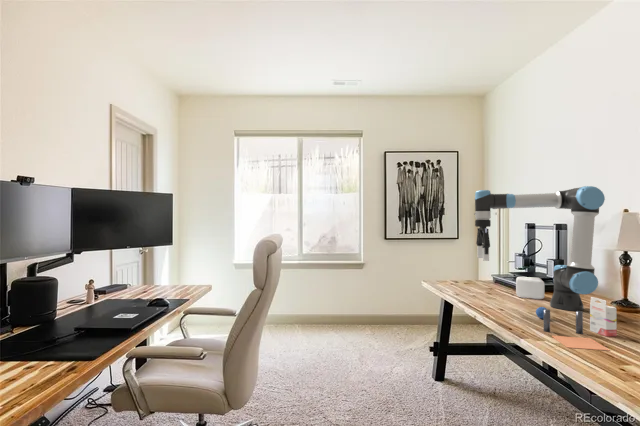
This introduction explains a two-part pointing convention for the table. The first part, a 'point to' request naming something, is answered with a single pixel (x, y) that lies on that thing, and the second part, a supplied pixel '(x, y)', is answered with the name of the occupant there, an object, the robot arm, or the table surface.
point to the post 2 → (579, 322)
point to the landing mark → (580, 343)
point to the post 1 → (546, 320)
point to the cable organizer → (529, 287)
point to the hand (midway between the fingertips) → (483, 259)
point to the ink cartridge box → (602, 318)
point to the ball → (540, 312)
